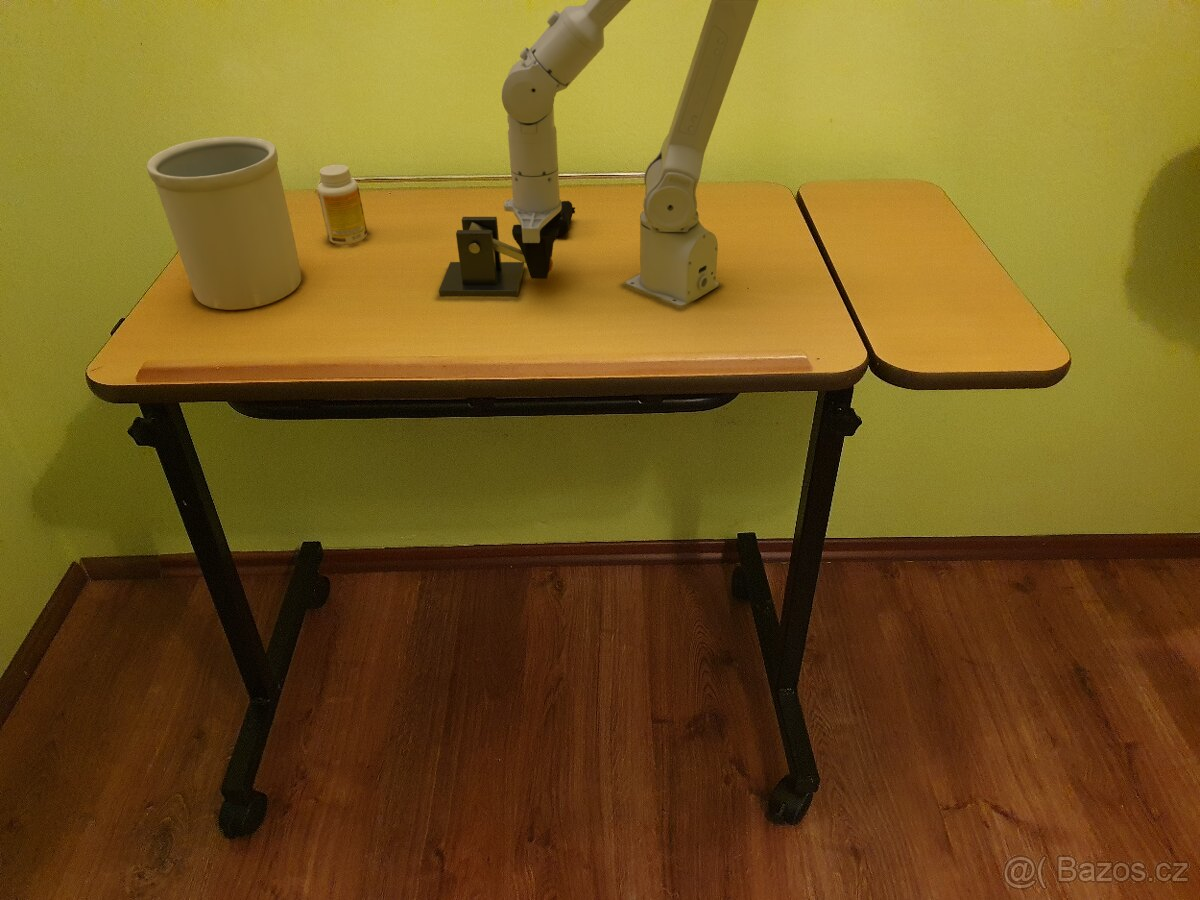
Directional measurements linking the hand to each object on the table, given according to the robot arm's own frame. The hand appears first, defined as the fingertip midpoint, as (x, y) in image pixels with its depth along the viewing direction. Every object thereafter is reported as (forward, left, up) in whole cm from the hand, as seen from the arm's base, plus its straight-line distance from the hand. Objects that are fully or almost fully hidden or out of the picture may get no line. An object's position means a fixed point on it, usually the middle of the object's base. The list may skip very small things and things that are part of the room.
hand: (540, 270), depth 117 cm
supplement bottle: (+31, +8, -2) cm, 33 cm away
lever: (+3, +3, +1) cm, 5 cm away
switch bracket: (+6, +5, -2) cm, 8 cm away
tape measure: (+10, -13, -2) cm, 16 cm away
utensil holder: (+29, +25, -2) cm, 39 cm away
